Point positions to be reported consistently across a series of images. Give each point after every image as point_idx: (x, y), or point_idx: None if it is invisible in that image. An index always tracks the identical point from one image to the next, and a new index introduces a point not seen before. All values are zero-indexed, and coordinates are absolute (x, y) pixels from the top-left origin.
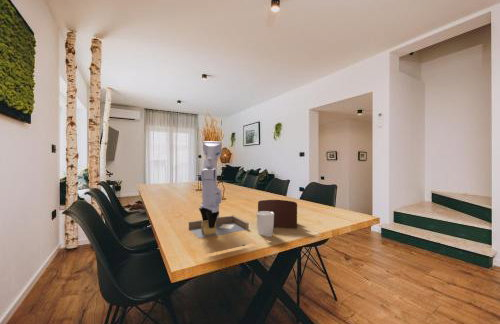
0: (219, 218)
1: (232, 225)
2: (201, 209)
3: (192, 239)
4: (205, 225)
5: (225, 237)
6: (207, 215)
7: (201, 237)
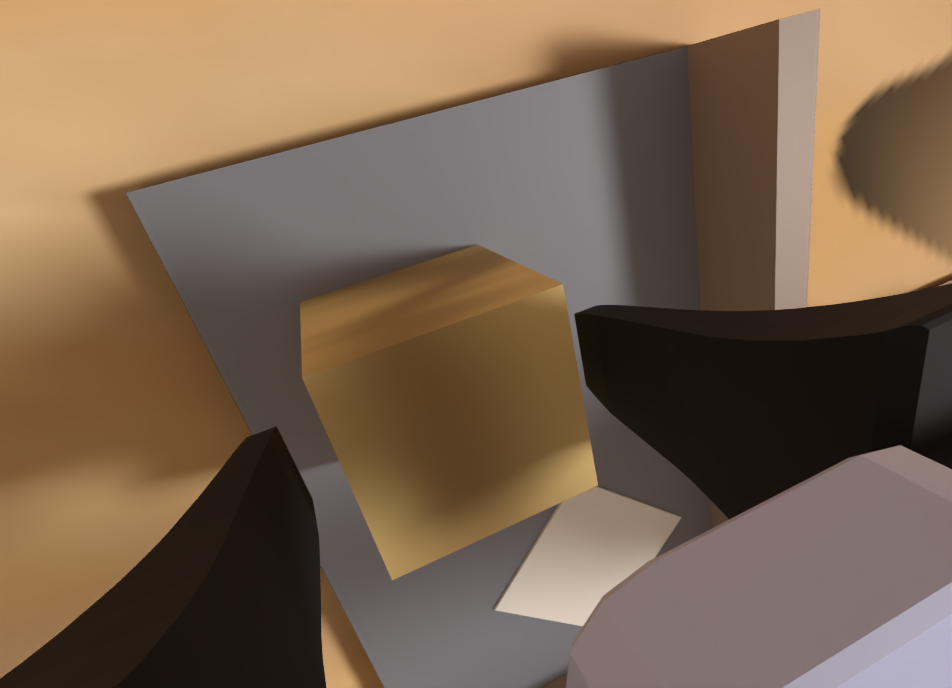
0: None
1: None
2: (882, 381)
3: (240, 74)
4: (302, 368)
5: None
6: (31, 682)
7: (185, 239)
